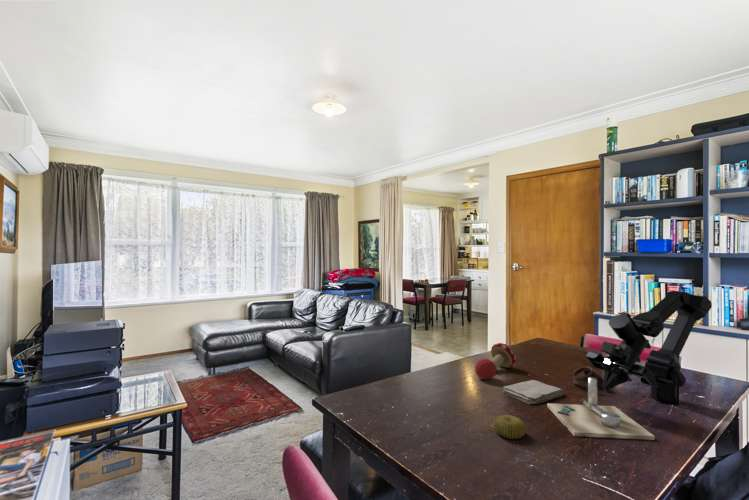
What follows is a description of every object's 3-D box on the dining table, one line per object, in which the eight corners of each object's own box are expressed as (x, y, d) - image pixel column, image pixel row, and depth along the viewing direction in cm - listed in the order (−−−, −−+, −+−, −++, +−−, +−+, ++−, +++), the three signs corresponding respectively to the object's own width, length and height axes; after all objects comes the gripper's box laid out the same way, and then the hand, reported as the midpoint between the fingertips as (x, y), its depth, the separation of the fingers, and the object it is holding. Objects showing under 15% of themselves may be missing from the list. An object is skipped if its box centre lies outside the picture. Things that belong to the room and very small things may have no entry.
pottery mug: (609, 396, 123) (596, 375, 123) (580, 402, 128) (568, 382, 128) (606, 376, 133) (595, 357, 133) (580, 383, 138) (569, 364, 138)
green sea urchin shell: (520, 429, 90) (489, 419, 96) (520, 445, 90) (489, 434, 96) (530, 418, 97) (500, 409, 102) (529, 433, 97) (500, 423, 102)
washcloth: (500, 394, 124) (500, 385, 124) (533, 384, 133) (533, 376, 133) (530, 407, 113) (530, 397, 113) (564, 396, 123) (564, 387, 123)
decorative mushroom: (487, 353, 142) (508, 334, 150) (471, 360, 150) (492, 343, 159) (506, 378, 139) (526, 358, 147) (489, 384, 147) (509, 365, 156)
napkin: (614, 409, 111) (614, 405, 111) (654, 439, 93) (654, 434, 93) (547, 406, 113) (547, 402, 113) (574, 436, 95) (574, 431, 95)
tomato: (492, 360, 133) (483, 350, 140) (475, 372, 133) (467, 362, 140) (503, 375, 134) (494, 364, 142) (486, 387, 134) (478, 376, 142)
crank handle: (623, 427, 97) (623, 391, 97) (607, 427, 97) (607, 391, 97) (592, 405, 111) (593, 374, 111) (578, 405, 111) (578, 374, 111)
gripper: (589, 326, 120) (564, 363, 116) (649, 339, 102) (621, 383, 98) (606, 348, 122) (582, 384, 118) (667, 364, 105) (641, 408, 101)
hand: (604, 389), depth 109 cm, fingers closed
